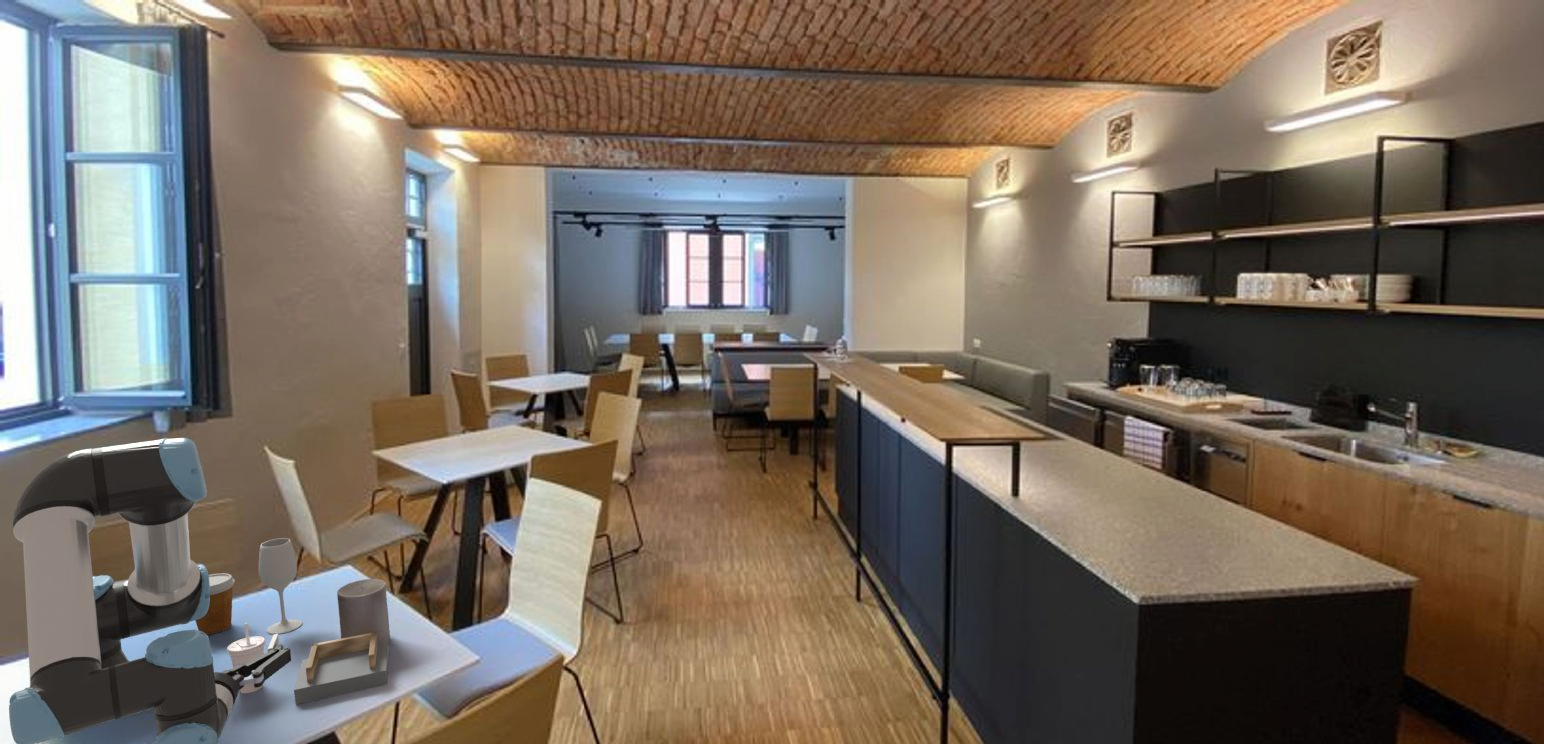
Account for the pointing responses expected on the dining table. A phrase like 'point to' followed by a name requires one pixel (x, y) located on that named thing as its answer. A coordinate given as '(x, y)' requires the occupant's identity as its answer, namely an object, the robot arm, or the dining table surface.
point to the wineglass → (278, 576)
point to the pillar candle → (364, 609)
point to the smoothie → (246, 653)
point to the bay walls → (341, 650)
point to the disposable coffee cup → (218, 605)
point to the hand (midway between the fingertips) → (234, 648)
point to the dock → (342, 675)
